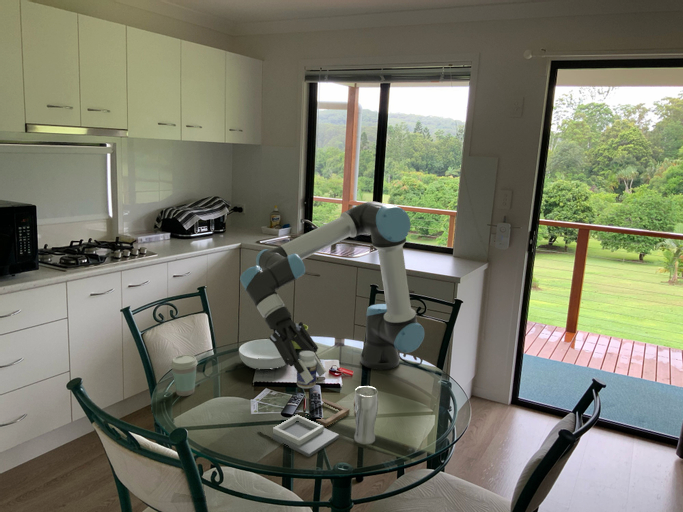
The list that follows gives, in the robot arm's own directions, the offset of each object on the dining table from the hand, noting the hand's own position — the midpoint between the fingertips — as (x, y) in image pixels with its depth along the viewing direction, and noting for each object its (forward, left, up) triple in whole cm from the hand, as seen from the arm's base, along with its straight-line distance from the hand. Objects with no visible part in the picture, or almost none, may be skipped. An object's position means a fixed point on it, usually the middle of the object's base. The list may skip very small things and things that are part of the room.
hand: (316, 377), depth 158 cm
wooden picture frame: (-8, -4, -17) cm, 19 cm away
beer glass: (-5, +14, -17) cm, 23 cm away
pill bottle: (0, -4, -4) cm, 5 cm away
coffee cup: (+11, -49, -17) cm, 53 cm away
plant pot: (-44, -49, -17) cm, 68 cm away
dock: (+6, -2, -17) cm, 18 cm away
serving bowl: (-23, -45, -17) cm, 53 cm away
